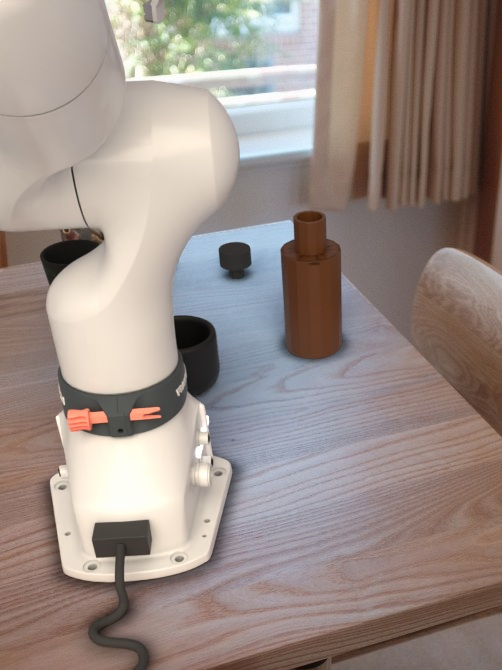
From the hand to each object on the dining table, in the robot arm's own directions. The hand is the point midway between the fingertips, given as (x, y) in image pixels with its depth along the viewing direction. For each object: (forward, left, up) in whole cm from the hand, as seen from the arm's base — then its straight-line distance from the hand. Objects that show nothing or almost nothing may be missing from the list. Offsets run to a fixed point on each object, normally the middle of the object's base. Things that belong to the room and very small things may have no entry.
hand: (114, 14), depth 96 cm
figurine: (+10, +11, -38) cm, 41 cm away
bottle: (-6, -20, -38) cm, 43 cm away
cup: (0, +10, -38) cm, 39 cm away
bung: (+16, -11, -38) cm, 42 cm away
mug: (-14, -2, -38) cm, 40 cm away
